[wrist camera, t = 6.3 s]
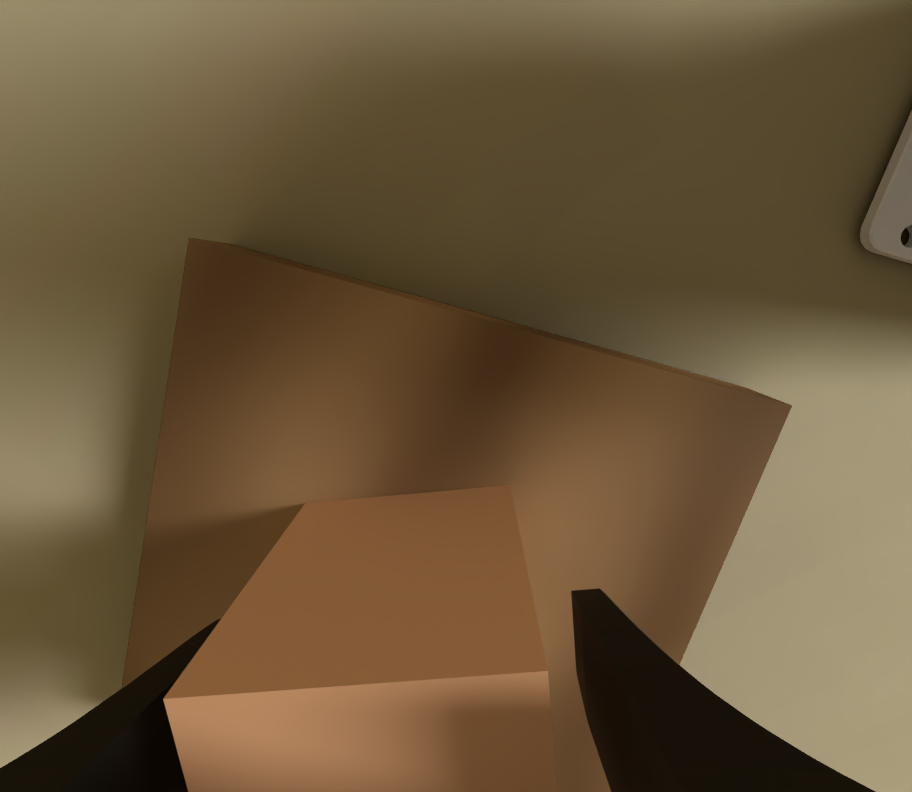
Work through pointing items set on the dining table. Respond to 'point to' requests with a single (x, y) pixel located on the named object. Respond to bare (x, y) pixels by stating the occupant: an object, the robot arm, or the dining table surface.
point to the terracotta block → (376, 658)
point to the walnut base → (437, 455)
